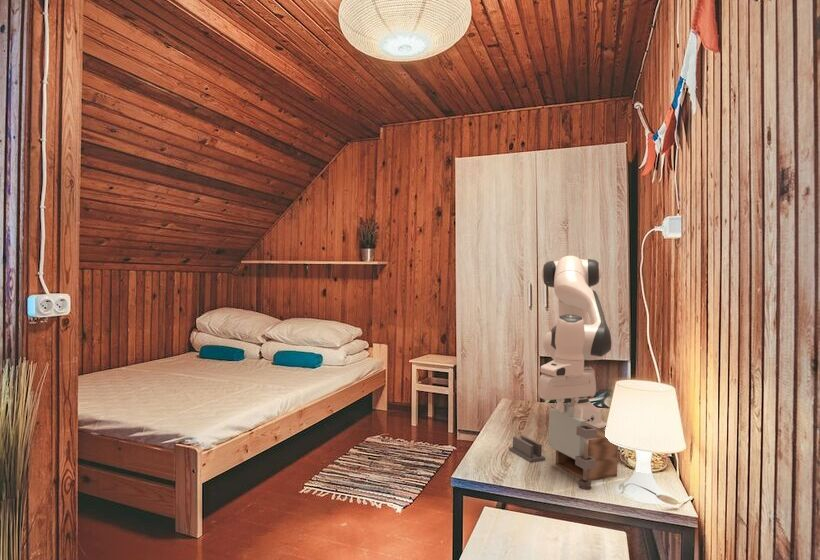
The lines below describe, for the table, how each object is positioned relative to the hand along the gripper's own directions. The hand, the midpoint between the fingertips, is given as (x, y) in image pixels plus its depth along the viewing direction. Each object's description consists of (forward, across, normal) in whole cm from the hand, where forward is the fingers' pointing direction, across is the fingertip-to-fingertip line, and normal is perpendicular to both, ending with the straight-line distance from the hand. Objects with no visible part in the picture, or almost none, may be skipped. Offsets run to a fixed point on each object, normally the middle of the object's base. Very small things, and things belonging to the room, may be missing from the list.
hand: (567, 411), depth 152 cm
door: (+14, 0, +2) cm, 14 cm away
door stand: (+20, +2, -17) cm, 26 cm away
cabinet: (+20, -6, +2) cm, 21 cm away
